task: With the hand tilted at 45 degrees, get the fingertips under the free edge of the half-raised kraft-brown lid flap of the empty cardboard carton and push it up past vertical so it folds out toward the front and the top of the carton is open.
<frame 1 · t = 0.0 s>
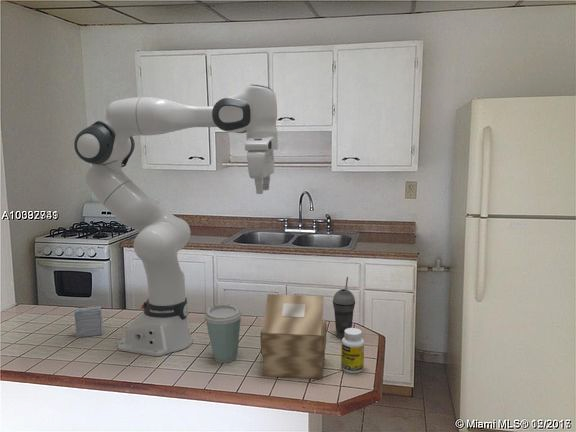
hand: (262, 191, 140), 48 cm above the counter, tool pointing down, fingers open, 8 cm apart
lid flap: (293, 314, 131), point 16 cm above the counter, hinge at 40.0°
beverage cup: (343, 336, 156), on the counter
disposable coffee cup: (224, 359, 141), on the counter
pill bottle: (352, 369, 134), on the counter
grey upright block: (90, 334, 160), on the counter
cardboard carton: (294, 367, 136), on the counter
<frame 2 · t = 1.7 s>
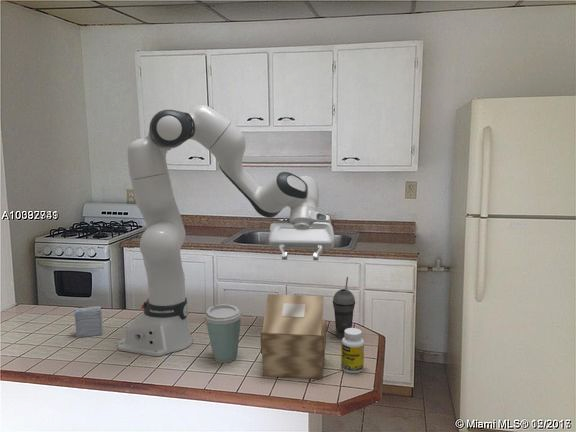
hand: (300, 259, 145), 27 cm above the counter, tool tilted 45°, fingers open, 8 cm apart
nothing on the counter moved.
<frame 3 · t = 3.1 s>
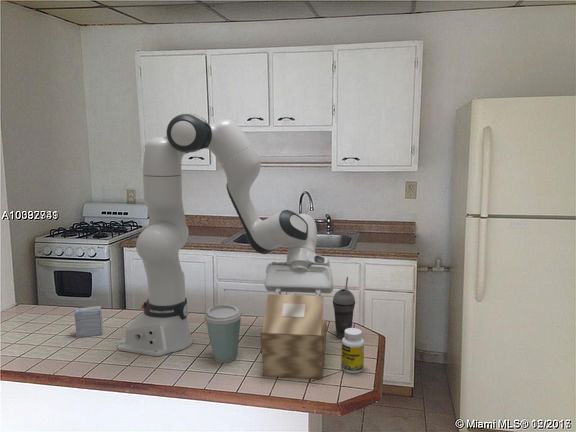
hand: (297, 304, 139), 16 cm above the counter, tool tilted 45°, fingers open, 8 cm apart
nothing on the counter moved.
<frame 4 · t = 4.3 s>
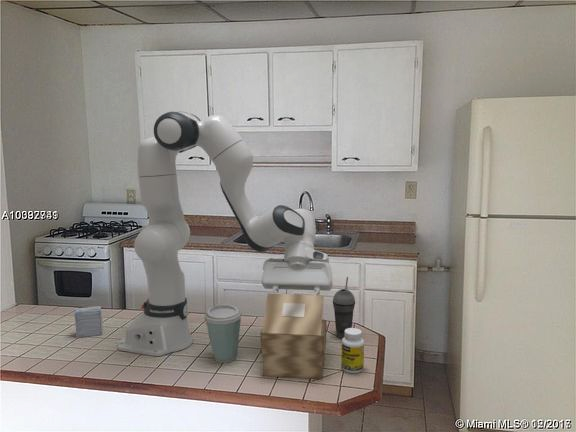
hand: (295, 302, 134), 18 cm above the counter, tool tilted 45°
lid flap: (293, 314, 131), point 16 cm above the counter, hinge at 41.8°, touching gripper
everything else where it was.
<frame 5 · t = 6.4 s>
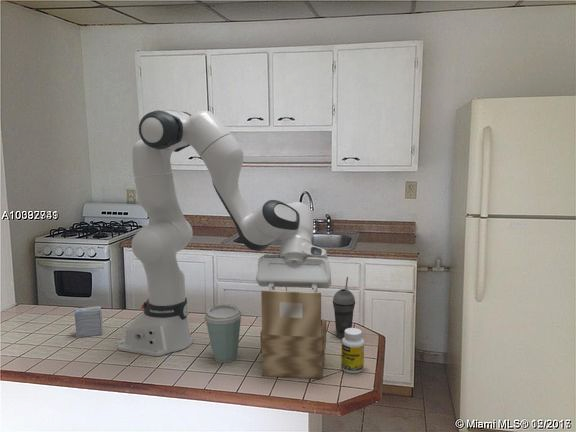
hand: (291, 300, 127), 21 cm above the counter, tool tilted 45°
lid flap: (291, 313, 126), point 18 cm above the counter, hinge at 88.7°, touching gripper
everything else where it was.
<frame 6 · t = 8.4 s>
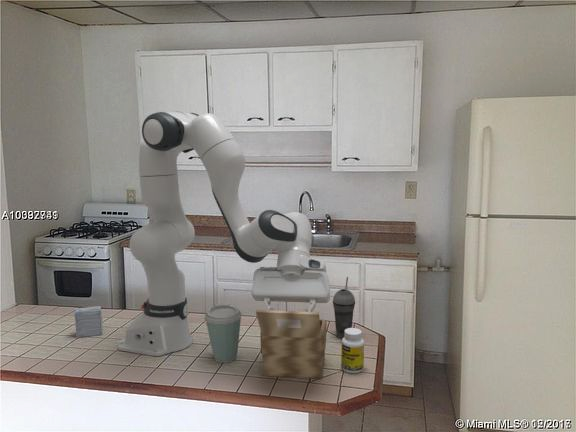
hand: (288, 316, 121), 19 cm above the counter, tool tilted 45°
lid flap: (289, 324, 123), point 17 cm above the counter, hinge at 128.2°, touching gripper
everything else where it was.
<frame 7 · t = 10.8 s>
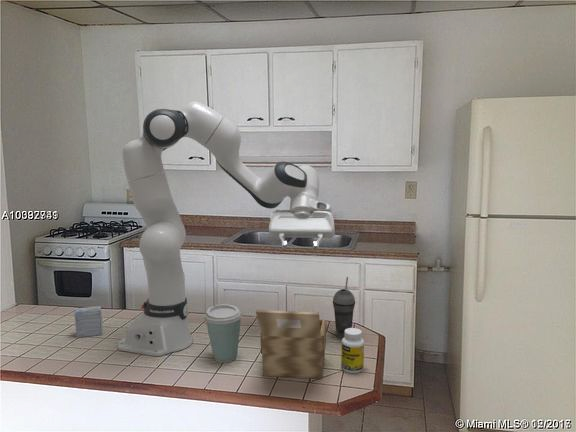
hand: (300, 247, 144), 31 cm above the counter, tool tilted 45°, fingers open, 8 cm apart
lid flap: (289, 324, 123), point 17 cm above the counter, hinge at 128.2°
everything else where it was.
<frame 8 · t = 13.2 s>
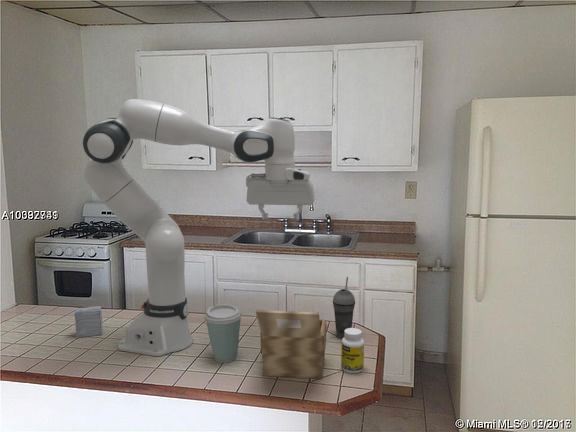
hand: (280, 219, 146), 39 cm above the counter, tool pointing down, fingers open, 8 cm apart
nothing on the counter moved.
at the end: lid flap at +128° (first picture: +40°) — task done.
